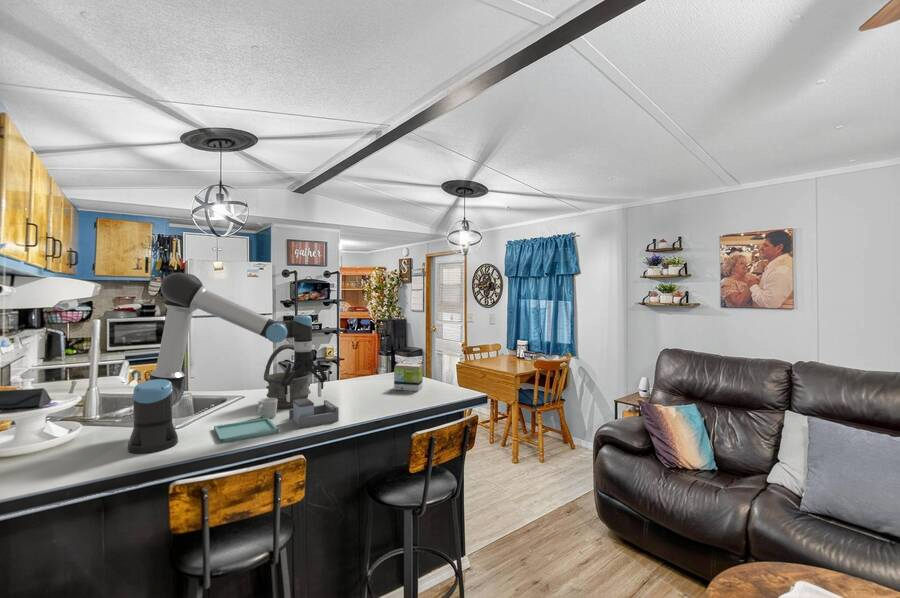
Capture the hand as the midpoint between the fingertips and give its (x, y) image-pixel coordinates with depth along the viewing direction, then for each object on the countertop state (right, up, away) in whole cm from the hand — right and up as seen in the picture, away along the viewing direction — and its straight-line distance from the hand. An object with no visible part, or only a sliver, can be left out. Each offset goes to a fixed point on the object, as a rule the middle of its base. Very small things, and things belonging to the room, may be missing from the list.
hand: (304, 399), depth 187 cm
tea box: (+40, -9, +64) cm, 76 cm away
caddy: (0, -10, 0) cm, 10 cm away
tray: (-19, -10, -13) cm, 25 cm away
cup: (-19, -10, +5) cm, 22 cm away
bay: (+3, -10, +3) cm, 11 cm away
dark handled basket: (-18, -10, +30) cm, 36 cm away
